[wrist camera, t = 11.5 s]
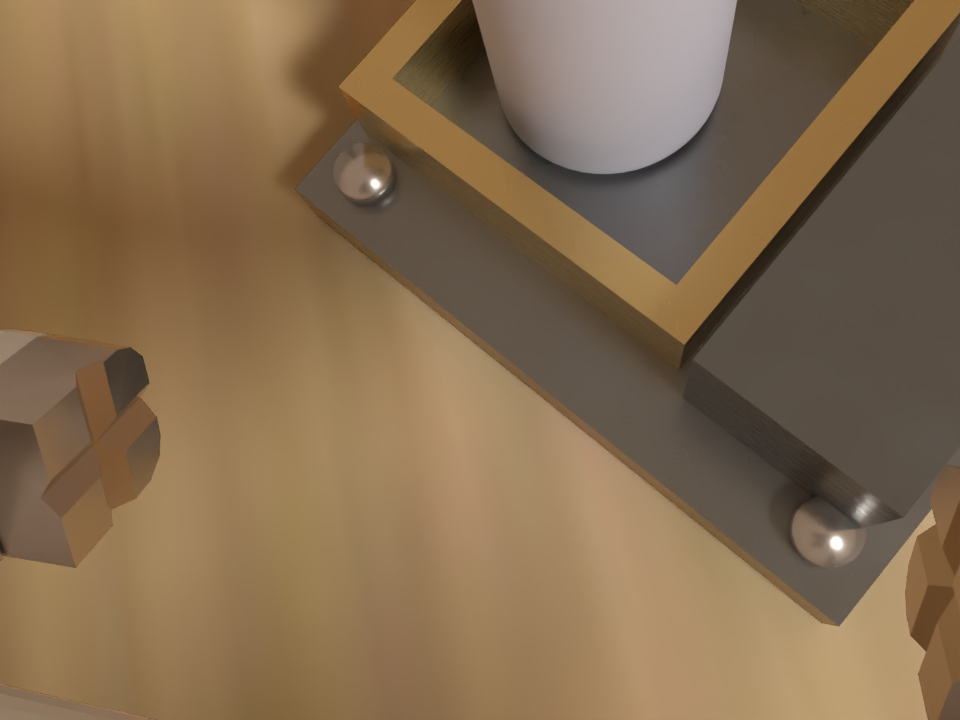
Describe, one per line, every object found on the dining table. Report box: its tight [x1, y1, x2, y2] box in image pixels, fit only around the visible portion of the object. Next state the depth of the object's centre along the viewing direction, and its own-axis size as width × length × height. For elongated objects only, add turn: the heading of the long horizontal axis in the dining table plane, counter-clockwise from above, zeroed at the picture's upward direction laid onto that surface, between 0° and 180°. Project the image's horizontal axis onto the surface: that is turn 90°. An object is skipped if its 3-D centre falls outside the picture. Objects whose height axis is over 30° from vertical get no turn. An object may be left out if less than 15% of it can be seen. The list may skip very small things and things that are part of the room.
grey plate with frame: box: [295, 0, 960, 626], centre depth 23 cm, size 16×18×6 cm
